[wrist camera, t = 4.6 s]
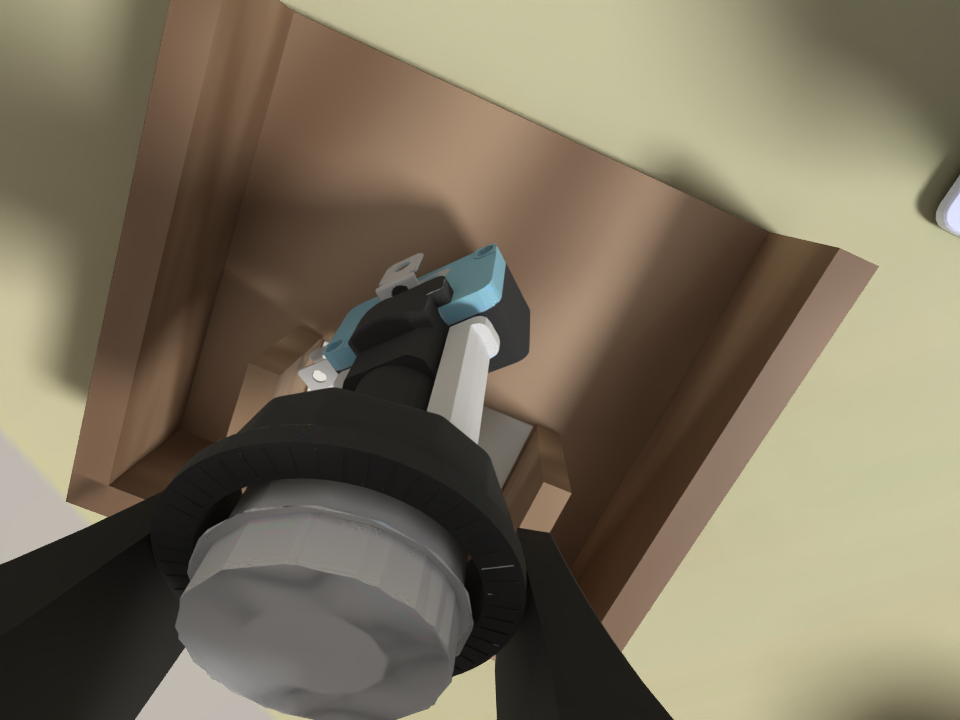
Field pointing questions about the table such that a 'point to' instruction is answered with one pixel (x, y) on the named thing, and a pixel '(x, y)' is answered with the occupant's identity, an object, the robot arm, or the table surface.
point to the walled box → (442, 239)
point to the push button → (359, 511)
